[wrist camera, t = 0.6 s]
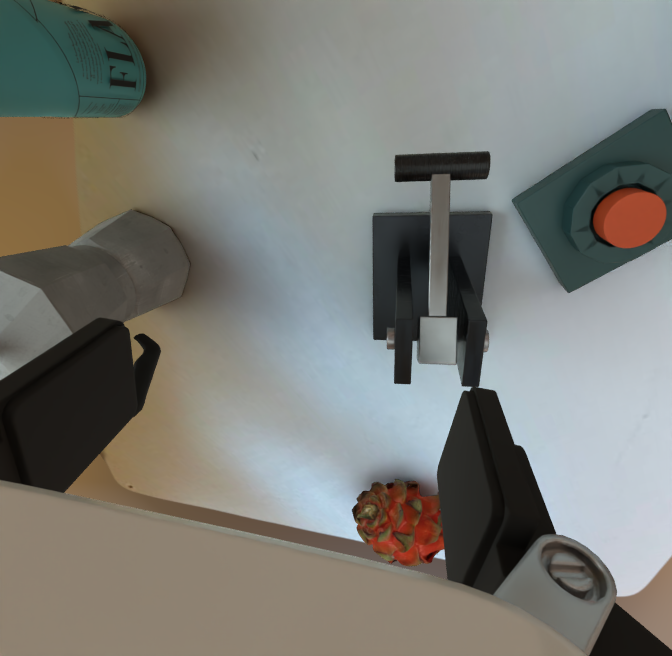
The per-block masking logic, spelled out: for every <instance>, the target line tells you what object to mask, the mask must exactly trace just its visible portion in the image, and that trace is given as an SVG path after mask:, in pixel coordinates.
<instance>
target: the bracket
mask: <svg viewBox="0 0 672 656" xmlns="http://www.w3.org/2000/svg"><path fill="white" fill-rule="evenodd" d="M429 222H430V212H418V213H374V214H373V339H374V340H387V349H392V350H394V349H395V365H394V383H395V384H411V365H412V341H417V323H418V316H427V301H428V261H429ZM491 223H492V213H491V212H490V211H473V212H450V215H449V252H448V289H447V317H457V318H458V328H457V366H458V370H459V375H460V379H461V384H462V386H467V387H479V382H480V375H481V367H482V359H483V352H487V351H488V347H489V333H488V330H487V319H486V317H485V314H484V312H483V309H482V307H481V305H482V297H483V289H484V281H485V272H486V264H487V256H488V248H489V240H490V231H491ZM427 317H428V316H427Z"/></svg>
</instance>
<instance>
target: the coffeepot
mask: <svg viewBox="0 0 672 656" xmlns="http://www.w3.org/2000/svg"><path fill="white" fill-rule="evenodd" d="M189 267H190V263H189V260H188V258H187V256H186V253H185V251H184V249H183V247H182V245H181V243H180V242H179V240H178V238H177V237H176V236H175V235H174V234H173V232H172V230H171V228H170V227H169V226H167V225H165V224H163V223H161V222H160V221H158V220H156V219H154V218H153V217H150V216H147V215H144V214H141V213H138V212H136V211H134V210H132V209H131V210H129V211H127V212H124V213H122V214H120V215H117V216H115V217H113V218H111V219H108V220H106V221H104V222H102V223H100V224H98V225H97V226H95V227H94V228H93V229H91V230H90V231H88V232H87V233H85V234H84V235H83V236H81V237H80V238H78V239H77V240H75V241H74V242H73V243H71V244H70V245H68V246H66V245H65V246H60V247H53V248H48V249H42V250H36V251H31V252H25V253H20V254H14V255H8V256H3V257H0V380H2V379H3V378H5V377H6V376H8V375H9V374H11V373H12V372H14V371H16V370H17V369H19V368H20V367H22V366H23V365H25V364H26V363H28V362H30V361H31V360H33V359H34V358H36V357H37V356H39V355H41V354H42V353H44V352H45V351H47V350H48V349H50V348H51V347H53V346H55V345H56V344H58V343H59V342H61V341H62V340H64V339H65V338H67V337H69V336H70V335H72V334H73V333H75V332H76V331H78V330H79V329H81V328H83V327H84V326H86V325H87V324H89V323H90V322H92V321H93V320H95V319H97V318H99V317H102V318H108V319H113V320H118V321H121V322H123V323H124V322H125V321H128V320H130V319H132V318H135V317H137V316H139V315H142V314H144V313H146V312H148V311H151V310H153V309H155V308H157V307H159V306H162V305H164V304H166V303H168V302H171V301H173V300H175V299H177V298H180V297H181V296H182V293H183V289H184V286H185V284H186V281H187V277H188V270H189ZM134 339H135V340H137V341H138V343H139V344H140V345H141V346H142V348H143V349H144V352H143V354H142V355H141V356H140V357H139V358H138V359H137V360H136V362H135V363H134V376H135V385H136V393H137V402H138V406H137V410H136V413H135V415H134V416H133V417H135V416H136V415H137V414H138V413H139V412H140V411H141V410H142V408H143V406H144V403H145V399H146V395H147V392H148V389H149V386H150V383H151V380H152V377H153V374H154V371H155V368H156V365H157V362H158V359H159V356H160V353H161V350H160V346H159V345H158V344H157V343H156V342H155V341H153V340H152V339H151V338H149V337H148V336H147V335H145V334H138V335H136V336H135V337H134Z"/></svg>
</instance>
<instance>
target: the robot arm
mask: <svg viewBox="0 0 672 656" xmlns="http://www.w3.org/2000/svg"><path fill="white" fill-rule="evenodd" d="M137 406H138V402H137V393H136V385H135V376H134V367H133V358H132V349H131V340H130V332H129V329H128V328H127V327H125V326H124V324H123V322H121V321H118V320H113V319H108V318H102V317H99V318H97V319H95V320H93V321H92V322H90V323H89V324H87V325H86V326H84V327H83V328H81V329H79V330H78V331H76V332H75V333H73V334H72V335H70V336H69V337H67V338H65V339H64V340H62V341H61V342H59V343H58V344H56V345H55V346H53V347H51V348H50V349H48V350H47V351H45V352H44V353H42V354H41V355H39V356H37V357H36V358H34V359H33V360H31V361H30V362H28V363H26V364H25V365H23V366H22V367H20V368H19V369H17V370H16V371H14V372H12V373H11V374H9V375H8V376H6V377H5V378H3V379H2V380H0V656H672V650H671V649H669V647H667V646H666V645H665V644H664V643H662V642H661V641H660V640H659V639H658V638H657V637H655V636H654V635H653V634H652V633H651V632H650V631H648V630H647V629H646V628H645V627H644V626H642V625H641V624H640V623H639V622H638V621H636V620H635V619H634V618H633V617H632V616H631V615H629V614H628V613H627V612H626V611H625V610H623V609H622V608H621V607H620V606H619V605H617V604H616V603H615V600H616V595H617V589H616V585H615V581H614V579H613V577H612V575H611V573H610V571H609V569H608V568H607V567H606V565H605V564H604V563H603V562H602V561H601V559H600V558H599V557H598V556H597V555H595V554H594V553H593V552H592V551H591V550H590V549H588V548H587V547H586V546H584V545H582V544H581V543H579V542H577V541H576V540H574V539H571V538H568V537H566V536H563V535H556V532H555V529H554V527H553V524H552V521H551V519H550V516H549V513H548V511H547V508H546V505H545V503H544V500H543V498H542V495H541V492H540V490H539V487H538V484H537V482H536V479H535V476H534V474H533V471H532V468H531V466H530V463H529V460H528V458H527V455H526V453H525V451H524V449H523V448H522V447H521V446H518V445H515V444H514V441H513V439H512V436H511V433H510V430H509V427H508V425H507V422H506V419H505V416H504V413H503V410H502V408H501V405H500V402H499V399H498V396H497V393H496V392H495V391H494V390H489V389H483V388H478V387H472V388H471V390H470V391H463V393H462V395H461V398H460V401H459V404H458V407H457V410H456V413H455V416H454V419H453V423H452V426H451V429H450V432H449V435H448V438H447V441H446V444H445V447H444V450H443V453H442V456H441V459H440V462H439V465H438V471H437V481H438V490H439V500H440V510H441V520H442V530H443V539H444V549H445V559H446V567H447V568H446V569H447V578H448V580H447V579H443V578H440V577H436V576H433V575H429V574H426V573H421V572H417V571H413V570H409V569H405V568H401V567H397V566H392V565H388V564H384V563H379V562H376V561H371V560H367V559H363V558H359V557H355V556H350V555H346V554H341V553H337V552H332V551H327V550H323V549H319V548H314V547H310V546H305V545H301V544H297V543H292V542H288V541H283V540H279V539H274V538H269V537H265V536H260V535H256V534H252V533H247V532H243V531H238V530H234V529H229V528H224V527H220V526H215V525H210V524H206V523H201V522H197V521H192V520H188V519H182V518H178V517H174V516H169V515H165V514H160V513H155V512H151V511H146V510H141V509H137V508H132V507H127V506H123V505H118V504H113V503H109V502H104V501H99V500H94V499H90V498H85V497H80V496H75V495H71V494H66V493H64V492H65V491H66V490H67V489H68V488H69V487H70V486H71V484H72V483H73V482H74V481H75V480H76V479H77V478H78V477H79V476H80V474H81V473H82V472H83V471H84V470H85V469H86V468H87V467H88V466H89V464H91V462H92V461H93V460H94V459H95V458H96V457H97V456H98V454H100V453H101V452H102V450H103V449H104V448H105V447H106V446H107V445H108V444H109V443H110V442H111V441H112V439H113V438H114V437H115V436H116V435H117V434H118V433H119V432H120V431H121V430H122V428H123V427H124V426H125V425H126V424H127V423H128V422H129V421H130V420H131V419H132V417H133V416H134V415H135V413H136V410H137Z"/></svg>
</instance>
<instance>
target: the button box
mask: <svg viewBox="0 0 672 656" xmlns="http://www.w3.org/2000/svg"><path fill="white" fill-rule="evenodd" d="M623 188H637V189H641V190H644V191H647V192H650V193H653V194H655V195H657V196H659V197H660V198H661V199H662V200H663V202H664V204H665V206H666V220H665V223H664V225H663V227H662V229H661V230H660V231H659V233H658V234H657V235H656V236H655V237H654V238H653V239H651V240H650V241H648V242H647V243H645V244H643V245H640V246H638V247H634V248H620V247H616V246H614V245H612V244H611V243H609V242H607V241H606V240H604V239H603V238H601V237H600V236H599V235H598V234H597V233H596V231H595V229H594V226H593V217H594V213H595V211H596V209H597V207H598V205H599V204H600V203H601V201H602V200H603V199H604V198H606V197H607V196H608V195H610V194H611V193H613V192H615V191H617V190H620V189H623ZM512 202H513V204H514V205H515V207H516V209H517V211H518V212H519V214H520V216H521V217H522V219H523V221H524V223H525V224H526V226H527V228H528V229H529V231H530V233H531V235H532V236H533V238H534V240H535V241H536V243H537V245H538V247H539V248H540V250H541V252H542V253H543V255H544V257H545V259H546V260H547V262H548V264H549V265H550V267H551V269H552V271H553V272H554V274H555V276H556V277H557V279H558V281H559V283H560V284H561V286H562V287H563V288H564V289H565V290H566V291H567V292H568V293H570V292H572V291H574V290H576V289H578V288H580V287H582V286H584V285H585V284H587V283H589V282H591V281H593V280H595V279H597V278H599V277H601V276H603V275H604V274H606V273H608V272H610V271H612V270H614V269H616V268H618V267H620V266H622V265H623V264H625V263H627V262H629V261H632V260H634V259H636V258H638V257H639V256H641V255H643V254H645V253H647V252H649V251H651V250H653V249H655V248H656V247H658V246H660V245H661V244H663V243H665V242H667V241H669V240H671V239H672V123H671V120H670V118H669V116H668V113H667V111H666V109H652V110H650V111H648V112H647V113H645V114H644V115H642V116H641V117H639V118H638V119H636V120H634V121H633V122H631V123H630V124H628V125H627V126H625V127H624V128H622V129H621V130H619V131H617V132H616V133H614V134H613V135H611V136H610V137H608V138H607V139H605V140H604V141H602V142H600V143H599V144H597V145H596V146H594V147H593V148H591V149H590V150H588V151H586V152H585V153H583V154H582V155H580V156H579V157H577V158H576V159H574V160H573V161H571V162H569V163H568V164H566V165H565V166H563V167H562V168H560V169H559V170H557V171H556V172H554V173H552V174H551V175H549V176H548V177H546V178H545V179H543V180H542V181H540V182H539V183H537V184H535V185H534V186H532V187H531V188H529V189H528V190H526V191H525V192H523V193H522V194H520V195H518V196H517V197H515V198H514V199H512Z"/></svg>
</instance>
